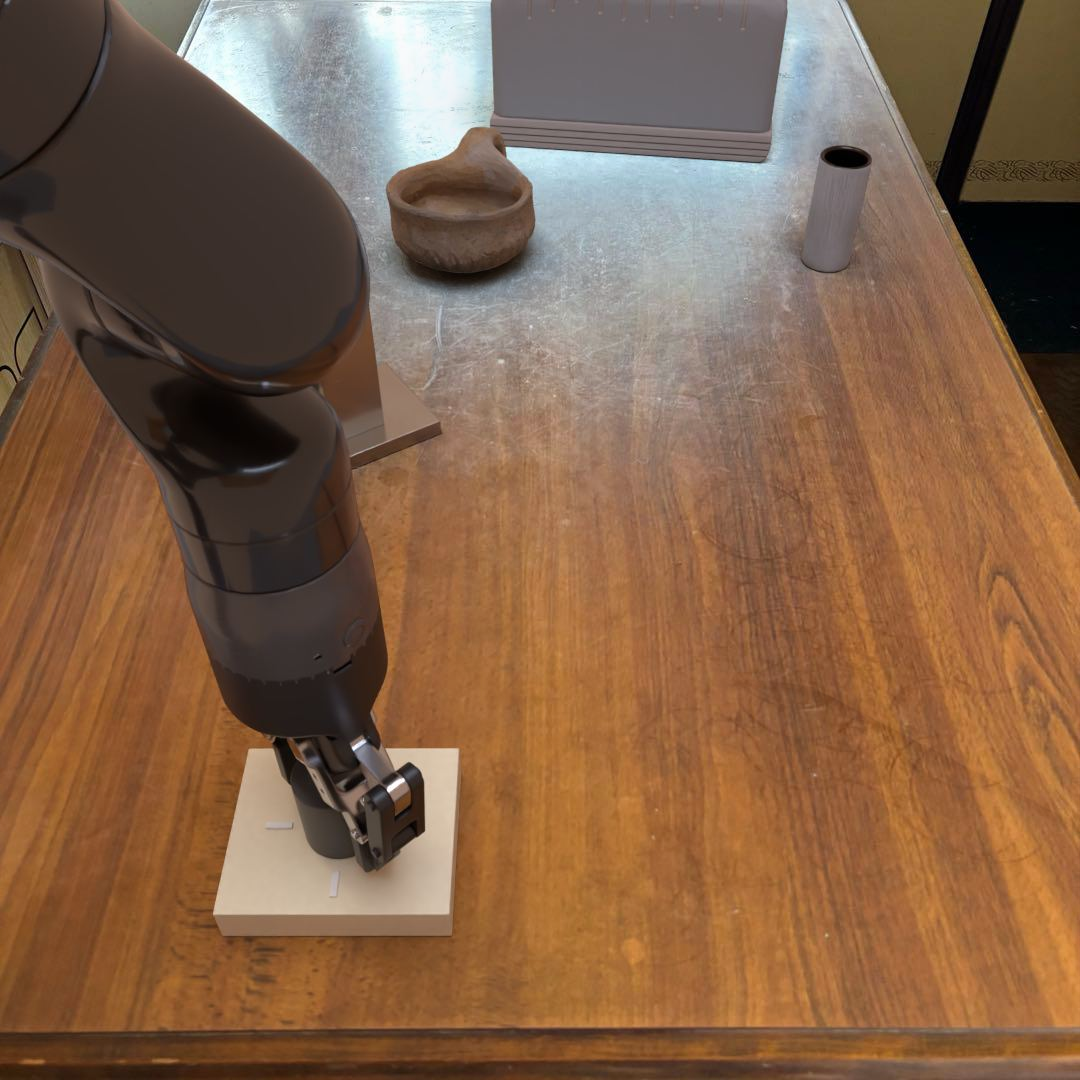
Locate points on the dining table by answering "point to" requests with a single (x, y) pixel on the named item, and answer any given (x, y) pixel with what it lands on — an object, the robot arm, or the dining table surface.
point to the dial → (321, 816)
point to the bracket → (375, 404)
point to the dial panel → (337, 863)
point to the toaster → (638, 75)
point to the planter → (835, 207)
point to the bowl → (463, 207)
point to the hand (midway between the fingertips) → (340, 813)
